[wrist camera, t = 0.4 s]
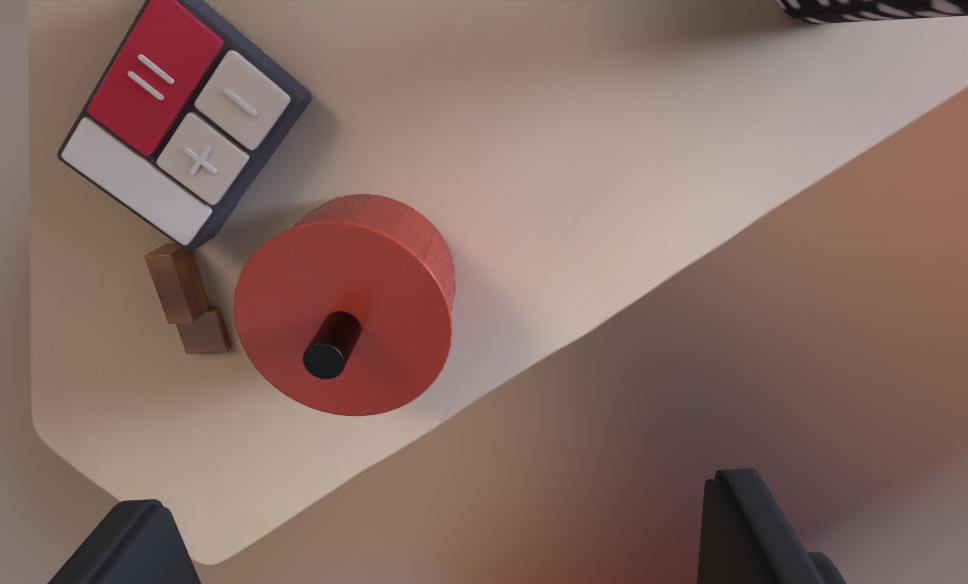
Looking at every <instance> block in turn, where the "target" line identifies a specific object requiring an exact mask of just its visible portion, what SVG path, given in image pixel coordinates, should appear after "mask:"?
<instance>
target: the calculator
mask: <svg viewBox="0 0 968 584" xmlns="http://www.w3.org/2000/svg"><path fill="white" fill-rule="evenodd" d="M311 99H312V96H311V93H310V92H309V91H308V90H307V89H306V88H305V87H303V86H302V85H301V84H300V83H299V82H297V81H296V80H295V79H294V78H293V77H292V76H290V75H289V74H288V73H287V72H286V71H285V70H283V69H282V68H281V67H280V66H279V65H277V64H276V63H275V62H274V61H273V60H272V59H270V58H269V57H268V56H267V55H266V54H265V53H263V52H262V51H261V50H260V49H259V48H258V47H256V46H255V45H254V44H253V43H252V42H250V41H249V40H248V39H247V38H246V37H245V36H243V35H242V34H241V33H240V32H239V31H238V30H236V29H235V28H234V27H233V26H232V25H231V24H229V23H228V22H227V21H226V20H225V19H223V18H222V17H221V16H220V15H219V14H218V13H216V12H215V11H214V10H213V9H212V8H211V7H209V6H208V5H207V4H206V3H205V2H203V1H202V0H146V1H145V3H144V5H143V6H142V8H141V10H140V11H139V13H138V15H137V17H136V18H135V20H134V22H133V23H132V25H131V27H130V29H129V30H128V32H127V34H126V35H125V37H124V39H123V41H122V42H121V44H120V46H119V48H118V49H117V51H116V53H115V54H114V56H113V58H112V60H111V61H110V63H109V65H108V66H107V68H106V70H105V72H104V73H103V75H102V77H101V78H100V80H99V82H98V84H97V85H96V87H95V89H94V90H93V92H92V94H91V96H90V97H89V99H88V101H87V102H86V104H85V106H84V108H83V109H82V111H81V113H80V114H79V116H78V118H77V120H76V121H75V123H74V125H73V127H72V128H71V130H70V132H69V133H68V135H67V137H66V139H65V140H64V142H63V144H62V145H61V147H60V149H59V151H58V153H57V155H58V158H59V159H60V160H61V161H62V162H63V163H65V164H66V165H68V166H69V167H70V168H72V169H73V170H75V171H76V172H77V173H79V174H80V175H82V176H83V177H84V178H86V179H87V180H88V181H90V182H91V183H93V184H94V185H95V186H97V187H98V188H100V189H101V190H102V191H104V192H105V193H107V194H108V195H109V196H111V197H112V198H114V199H115V200H116V201H118V202H119V203H121V204H122V205H123V206H125V207H126V208H128V209H129V210H130V211H132V212H133V213H135V214H136V215H137V216H139V217H140V218H142V219H143V220H144V221H146V222H147V223H149V224H150V225H151V226H153V227H154V228H156V229H157V230H158V231H160V232H161V233H163V234H164V235H165V236H167V237H168V238H170V239H171V240H172V241H174V242H175V243H177V244H178V245H179V246H181V247H182V248H184V249H185V250H187V251H193V250H194V249H196V248H198V247H199V246H201V245H202V244H204V243H205V242H207V241H209V240H210V239H212V238H213V237H214V236H215V234H216V233H217V232H218V230H219V229H220V228H221V226H222V225H223V223H224V222H225V221H226V219H227V218H228V217H229V215H230V214H231V212H232V211H233V210H234V208H235V206H236V204H237V202H238V200H239V199H240V198H241V196H242V195H243V193H244V192H245V191H246V189H247V188H248V187H249V185H250V184H251V182H252V181H253V180H254V178H255V177H256V176H257V174H258V173H259V171H260V170H261V169H262V167H263V166H264V164H265V163H266V162H267V160H268V159H269V158H270V156H271V155H272V153H273V152H274V151H275V149H276V148H277V147H278V145H279V144H280V142H281V141H282V140H283V138H284V137H285V136H286V134H287V133H288V131H289V130H290V129H291V127H292V126H293V125H294V123H295V122H296V120H297V119H298V118H299V116H300V115H301V114H302V112H303V111H304V109H305V108H306V107H307V105H308V104H309V103H310V101H311Z"/></svg>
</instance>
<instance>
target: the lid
mask: <svg viewBox="0 0 968 584" xmlns="http://www.w3.org/2000/svg"><path fill="white" fill-rule="evenodd" d="M234 316H235V324H236V328H237V332H238V335H239V338H240V341H241V343H242V346H243V348H244V350H245V352H246V354H247V355H248V357H249V359H250V360H251V362H252V363H253V364H254V366H255V367H256V369H257V370H258V371H259V372H260V373H261V374H262V375H263V377H264V378H265V379H266V380H268V381H269V382H270V383H271V384H272V385H273V386H274V387H275V388H277V389H278V390H279V391H281V392H282V393H284V394H285V395H287V396H288V397H290V398H292V399H293V400H295V401H297V402H299V403H301V404H303V405H306V406H308V407H310V408H313V409H316V410H319V411H322V412H327V413H331V414H336V415H345V416H367V415H375V414H380V413H385V412H388V411H391V410H394V409H397V408H399V407H401V406H403V405H405V404H407V403H409V402H411V401H412V400H414V399H415V398H417V397H418V396H420V395H421V394H422V393H423V392H424V391H425V390H427V389H428V388H429V387H430V385H431V384H432V383H433V382H434V381H435V380H436V378H437V377H438V375H439V374H440V372H441V370H442V369H443V366H444V364H445V362H446V359H447V357H448V353H449V349H450V345H451V337H452V317H451V312H450V307H449V303H448V300H447V297H446V294H445V292H444V290H443V288H442V286H441V284H440V282H439V280H438V278H437V277H436V275H435V274H434V272H433V271H432V270H431V268H430V267H429V266H428V265H427V264H426V262H425V261H424V260H423V259H422V258H421V257H420V256H419V255H418V254H417V253H416V252H414V251H413V250H412V249H411V248H410V247H408V246H407V245H406V244H404V243H403V242H401V241H400V240H398V239H397V238H395V237H393V236H391V235H389V234H387V233H385V232H383V231H381V230H378V229H375V228H373V227H370V226H367V225H363V224H359V223H355V222H348V221H340V220H323V221H315V222H308V223H305V224H301V225H298V226H294V227H292V228H290V229H287V230H285V231H283V232H281V233H279V234H278V235H276V236H274V237H273V238H271V239H270V240H269V241H267V242H266V243H265V244H264V245H263V246H262V247H260V248H259V249H258V250H257V251H256V252H255V254H254V255H253V256H252V257H251V258H250V259H249V261H248V262H247V264H246V266H245V267H244V269H243V271H242V273H241V276H240V278H239V281H238V283H237V287H236V292H235V299H234Z"/></svg>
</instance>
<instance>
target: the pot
mask: <svg viewBox="0 0 968 584" xmlns="http://www.w3.org/2000/svg"><path fill="white" fill-rule="evenodd" d="M323 220H340V221H348V222H355V223H359V224H363V225H367V226H370V227H373V228H375V229H378V230H381V231H383V232H385V233H387V234H389V235H391V236H393V237H395V238H397V239H398V240H400V241H401V242H403V243H404V244H406V245H407V246H408V247H410V248H411V249H412V250H413V251H414V252H416V253H417V254H418V255H419V256H420V257H421V258H422V259H423V260H424V261H425V262H426V264H427V265H428V266H429V267H430V268H431V270H432V271H433V272H434V274H435V275H436V277H437V278H438V280H439V282H440V284H441V286H442V288H443V290H444V292H445V294H446V297H447V300H448V303H449V307H450V312H451V310H452V305H453V300H454V295H455V289H456V287H455V271H454V266H453V260H452V257H451V255H450V251H449V249H448V247H447V245H446V243H445V241H444V239H443V238H442V236H441V235H440V233H439V232H438V231H437V230H436V228H435V227H434V226H433V225H432V224H431V223H430V222H429V221H428V220H427V219H426V218H425V217H424V216H423V215H421V214H420V213H418V212H417V211H416V210H414V209H413V208H411V207H409V206H407V205H405V204H403V203H401V202H399V201H396V200H393V199H391V198H387V197H383V196H377V195H369V194H357V195H350V196H344V197H338V198H336V199H334V200H332V201H329V202H327V203H325V204H323V205H322V206H320V207H318V208H317V209H315V210H313V211H311V212H309V213H308V214H307V215H306V216H304V217H303V218H302V219H301V220H300V221H299V222H298V223H297V224H295V225H294V226H298V225H301V224H305V223H308V222H315V221H323ZM294 226H293V227H294Z"/></svg>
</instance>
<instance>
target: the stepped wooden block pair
mask: <svg viewBox="0 0 968 584" xmlns="http://www.w3.org/2000/svg"><path fill="white" fill-rule="evenodd" d="M145 259H146V262H147V265H148V267H149V270H150V273H151V276H152V279H153V282H154V284H155V287H156V290H157V293H158V296H159V298H160V301H161V304H162V307H163V310H164V312H165V315H166V318H167V321H168V323H169V324H173V323H176V325H177V328H178V331H179V334H180V336H181V339H182V342H183V345H184V348H185V351H186V353H187V354H188V353H207V352H225V351H228V350H229V349H230V348H231V345H230V342H229V339H228V335H227V332H226V329H225V326H224V322H223V319H222V316H221V313H220V310H219V308H210V306H209V303H208V300H207V297H206V294H205V291H204V288H203V284H202V281H201V278H200V275H199V272H198V269H197V265H196V262H195V259H194V256H193V253H192V251H187V250H185V249H184V248H182V247H181V246H179V245H178V244H164V245H163V246H161V247H159V248H158V249H156V250H154V251H153V252H151V253H149V254H148V255H146V256H145Z"/></svg>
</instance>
